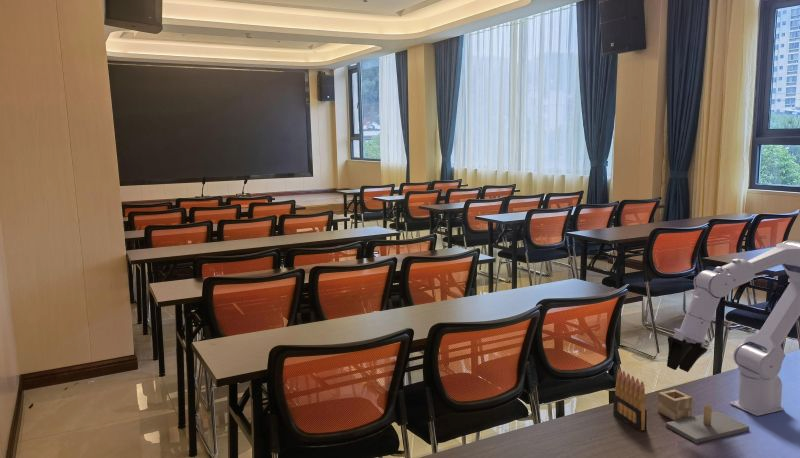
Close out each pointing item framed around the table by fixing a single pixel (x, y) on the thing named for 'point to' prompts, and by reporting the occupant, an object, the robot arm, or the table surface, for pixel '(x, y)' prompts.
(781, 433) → the table surface
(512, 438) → the table surface
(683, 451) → the table surface
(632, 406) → the ammunition clip
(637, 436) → the table surface
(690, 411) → the bead
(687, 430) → the grey peg stand
